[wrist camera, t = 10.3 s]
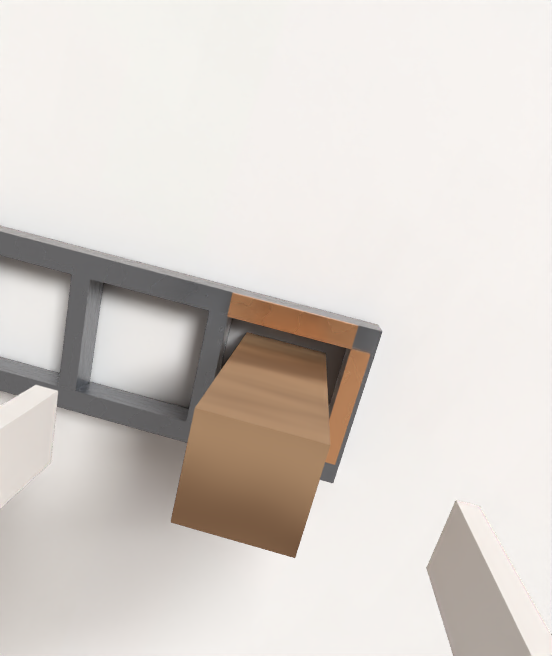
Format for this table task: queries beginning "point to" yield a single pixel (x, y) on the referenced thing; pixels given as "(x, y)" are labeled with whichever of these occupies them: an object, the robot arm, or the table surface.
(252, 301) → the rack
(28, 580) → the table surface
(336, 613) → the table surface
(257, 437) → the walnut block
